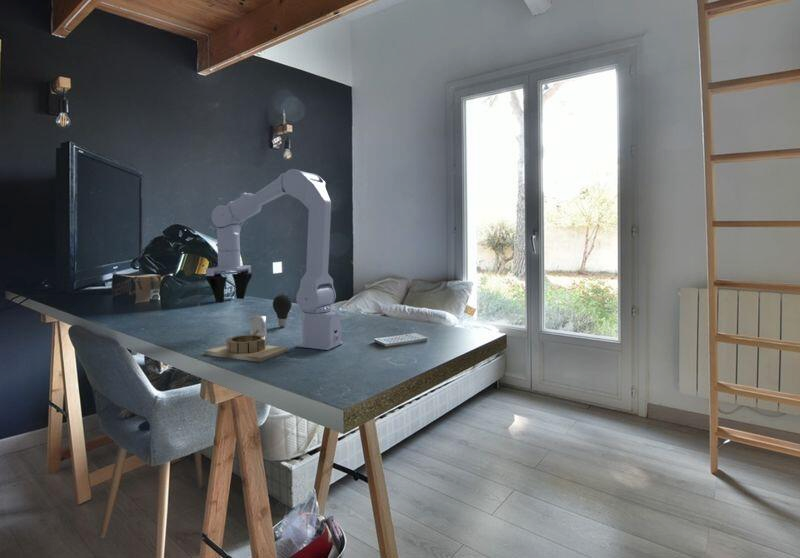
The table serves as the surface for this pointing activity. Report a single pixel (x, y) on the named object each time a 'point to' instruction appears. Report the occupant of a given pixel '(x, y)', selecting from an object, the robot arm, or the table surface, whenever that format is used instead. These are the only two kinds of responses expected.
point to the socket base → (247, 356)
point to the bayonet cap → (258, 325)
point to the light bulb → (282, 308)
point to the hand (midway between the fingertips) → (230, 300)
